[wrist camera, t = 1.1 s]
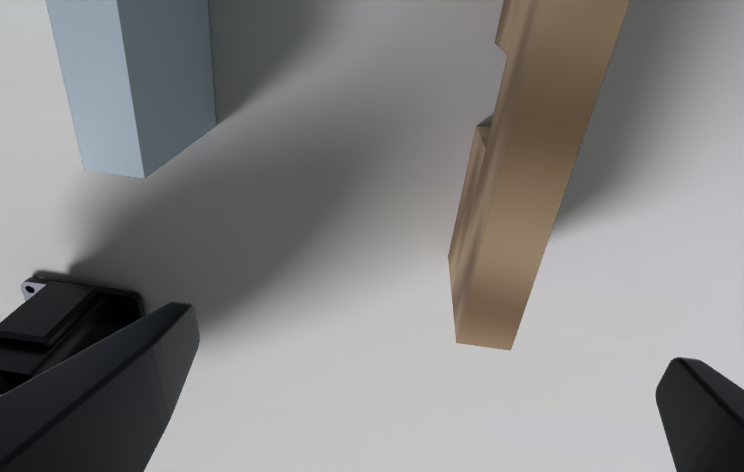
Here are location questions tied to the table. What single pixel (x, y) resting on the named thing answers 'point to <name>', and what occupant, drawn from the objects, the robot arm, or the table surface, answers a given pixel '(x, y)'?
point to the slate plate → (135, 79)
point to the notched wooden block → (525, 158)
